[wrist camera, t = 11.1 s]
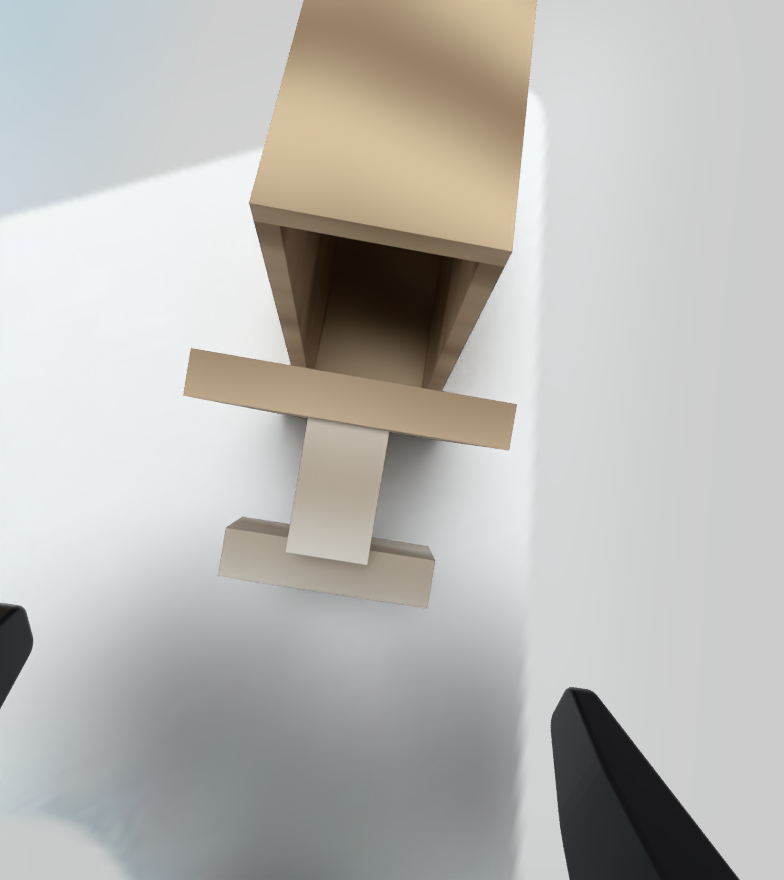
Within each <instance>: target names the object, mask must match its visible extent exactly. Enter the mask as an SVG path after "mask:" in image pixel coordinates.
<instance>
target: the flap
mask: <svg viewBox="0 0 784 880" xmlns="http://www.w3.org/2000/svg"><path fill="white" fill-rule="evenodd" d="M183 395H184V396H189V397H194V398H199V399H205V400H210V401H215V402H220V403H226V404H231V405H236V406H242V407H247V408H252V409H257V410H263V411H268V412H273V413H278V414H284V415H290V416H296V417H302V418H308V420H307V426H306V432H305V438H304V444H303V450H302V456H301V462H300V468H299V474H298V480H297V486H296V492H295V498H294V504H293V510H292V517H291V523H290V524H284V523H278V522H271V521H265V520H259V519H253V518H246V517H241V518H240V519H238V520H237V521H235V522H234V523H232V524H231V525H229V526H228V527H226V530H225V536H224V542H223V549H222V555H221V561H220V567H219V573H218V576H220V577H227V578H233V579H240V580H246V581H253V582H259V583H266V584H272V585H279V586H285V587H292V588H298V589H305V590H311V591H318V592H324V593H331V594H337V595H344V596H350V597H357V598H363V599H370V600H376V601H383V602H389V603H396V604H402V605H409V606H415V607H422V608H427V606H428V600H429V594H430V588H431V582H432V576H433V570H434V565H435V560H434V558H433V555H432V553H431V551H430V549H429V547H428V546H423V545H416V544H410V543H404V542H397V541H391V540H385V539H378V538H372V532H373V526H374V520H375V514H376V508H377V503H378V497H379V491H380V485H381V479H382V473H383V467H384V461H385V455H386V449H387V443H388V437H389V432H391V433H397V434H403V435H409V436H415V437H421V438H427V439H433V440H439V441H446V442H454V443H461V444H468V445H475V446H483V447H490V448H497V449H504V450H509V448H510V442H511V436H512V430H513V424H514V418H515V412H516V407H517V404H512V403H506V402H500V401H495V400H489V399H483V398H477V397H471V396H465V395H460V394H454V393H448V392H442V391H436V390H431V389H425V388H419V387H413V386H407V385H401V384H396V383H390V382H384V381H378V380H372V379H367V378H361V377H355V376H349V375H343V374H337V373H332V372H326V371H320V370H314V369H308V368H303V367H297V366H291V365H285V364H279V363H274V362H268V361H262V360H256V359H250V358H244V357H239V356H233V355H227V354H221V353H215V352H210V351H204V350H198V349H192V348H191V351H190V357H189V363H188V369H187V375H186V382H185V388H184V394H183Z"/></svg>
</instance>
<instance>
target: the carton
mask: <svg viewBox="0 0 784 880" xmlns="http://www.w3.org/2000/svg"><path fill="white" fill-rule="evenodd" d="M536 5H537V0H304V1H303V5H302V9H301V13H300V16H299V20H298V23H297V27H296V31H295V35H294V39H293V42H292V46H291V49H290V53H289V57H288V61H287V64H286V68H285V72H284V76H283V79H282V83H281V87H280V90H279V94H278V98H277V101H276V105H275V109H274V113H273V116H272V120H271V124H270V128H269V131H268V135H267V138H266V142H265V146H264V149H263V153H262V157H261V161H260V164H259V168H258V172H257V175H256V179H255V183H254V187H253V190H252V194H251V198H250V201H249V204H250V208H251V212H252V216H253V220H254V224H255V227H256V231H257V235H258V239H259V243H260V247H261V251H262V254H263V258H264V262H265V266H266V270H267V274H268V278H269V281H270V285H271V289H272V293H273V297H274V301H275V305H276V308H277V312H278V316H279V320H280V324H281V328H282V332H283V335H284V339H285V343H286V347H287V351H288V355H289V359H290V362H291V366H297V367H303V368H308V369H314V370H320V371H326V372H332V373H337V374H343V375H349V376H355V377H361V378H367V379H372V380H378V381H384V382H390V383H396V384H401V385H407V386H413V387H419V388H425V389H431V390H436V391H442V389H443V388H444V386H445V384H446V382H447V380H448V378H449V376H450V374H451V372H452V370H453V368H454V366H455V364H456V362H457V360H458V358H459V356H460V354H461V352H462V350H463V348H464V346H465V344H466V342H467V340H468V338H469V336H470V334H471V332H472V330H473V328H474V326H475V324H476V322H477V320H478V318H479V316H480V314H481V312H482V310H483V308H484V306H485V304H486V302H487V300H488V298H489V296H490V294H491V292H492V291H493V289H494V287H495V285H496V283H497V281H498V279H499V277H500V275H501V273H502V271H503V269H504V267H505V265H506V263H507V261H508V259H509V257H510V255H511V253H512V249H513V239H514V229H515V218H516V208H517V198H518V188H519V178H520V168H521V158H522V147H523V137H524V127H525V117H526V107H527V97H528V87H529V76H530V66H531V56H532V45H533V35H534V25H535V16H536V15H535V14H536Z"/></svg>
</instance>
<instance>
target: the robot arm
mask: <svg viewBox="0 0 784 880" xmlns="http://www.w3.org/2000/svg"><path fill="white" fill-rule="evenodd" d="M32 646H33V636H32V632H31V628H30V624H29V621H28V617H27V613H26V610H25V609H24V608H23V607H22V606H19V605H13V604H6V603H0V708H1V706H2V705H3V703H4V701H5V699H6V697H7V695H8V694H9V692H10V690H11V688H12V686H13V684H14V683H15V681H16V679H17V677H18V675H19V673H20V672H21V670H22V668H23V666H24V664H25V662H26V660H27V659H28V657H29V655H30V653H31V650H32ZM551 738H552V748H553V758H554V769H555V779H556V790H557V801H558V812H559V821H560V829H561V835H562V841H563V847H564V852H565V858H566V863H567V868H568V873H569V879H570V880H739V878H738V877H737V876H736V874H735V873H734V872H733V871H732V869H731V868H730V867H729V865H728V864H727V863H726V861H725V860H724V859H723V858H722V856H721V855H720V854H719V853H718V851H717V850H716V849H715V847H714V846H713V845H712V843H711V842H710V841H709V839H708V838H707V837H706V836H705V834H704V833H703V832H702V830H701V829H700V828H699V827H698V825H697V824H696V823H695V821H694V820H693V819H692V818H691V816H690V815H689V814H688V812H687V811H686V810H685V809H684V807H683V806H682V805H681V803H680V802H679V801H678V799H677V798H676V797H675V796H674V794H673V793H672V792H671V790H670V789H669V788H668V786H667V785H666V784H665V783H664V781H663V780H662V779H661V777H660V776H659V775H658V774H657V772H656V771H655V770H654V768H653V767H652V766H651V765H650V763H649V762H648V761H647V759H646V758H645V757H644V755H643V754H642V753H641V752H640V750H639V749H638V748H637V746H636V745H635V744H634V743H633V741H632V740H631V739H630V737H629V736H628V735H627V733H626V732H625V731H624V730H623V728H622V727H621V726H620V724H619V723H618V722H617V721H616V719H615V718H614V717H613V715H612V714H611V713H610V711H609V710H608V709H607V708H606V706H605V705H604V704H603V703H602V701H601V700H600V699H599V697H598V696H597V695H596V694H595V693H594V692H593V691H591V690H588V689H582V688H574V687H569V688H568V689H566V690H565V692H564V694H563V696H562V698H561V699H560V701H559V703H558V705H557V707H556V709H555V711H554V713H553V715H552V719H551Z"/></svg>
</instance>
